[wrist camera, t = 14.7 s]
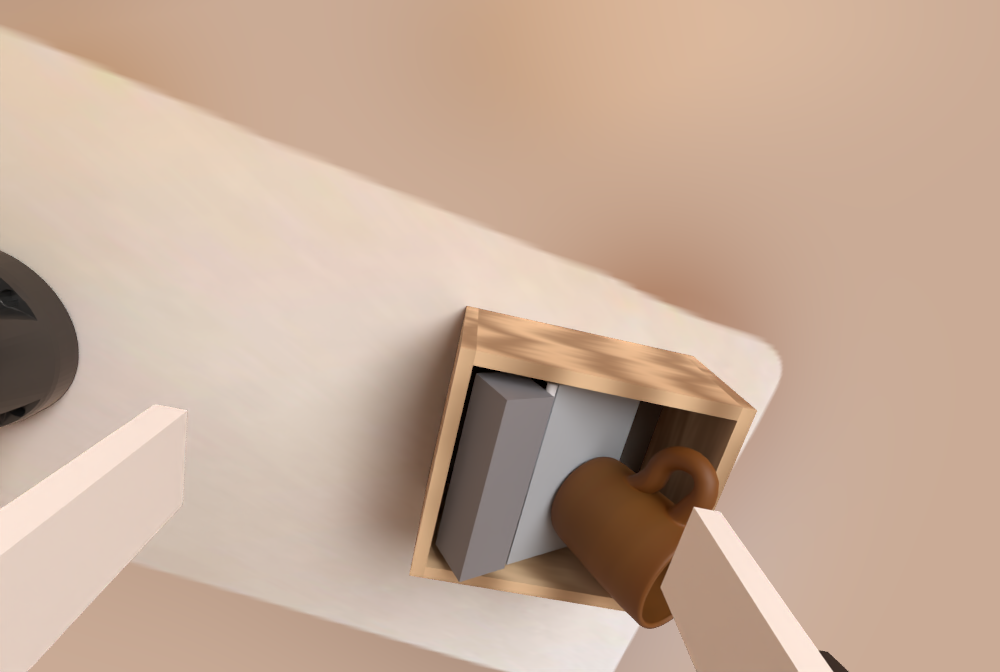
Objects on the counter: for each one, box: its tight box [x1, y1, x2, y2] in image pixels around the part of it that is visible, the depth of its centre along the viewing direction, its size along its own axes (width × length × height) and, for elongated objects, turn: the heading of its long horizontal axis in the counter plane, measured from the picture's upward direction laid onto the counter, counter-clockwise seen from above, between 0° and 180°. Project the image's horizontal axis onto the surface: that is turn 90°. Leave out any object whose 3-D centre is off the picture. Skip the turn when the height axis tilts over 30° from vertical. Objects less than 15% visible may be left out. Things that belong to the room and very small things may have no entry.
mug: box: [551, 446, 719, 629], centre depth 35 cm, size 12×8×9 cm
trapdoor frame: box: [410, 306, 757, 611], centre depth 39 cm, size 20×18×10 cm
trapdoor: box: [436, 373, 640, 582], centre depth 37 cm, size 14×15×4 cm
